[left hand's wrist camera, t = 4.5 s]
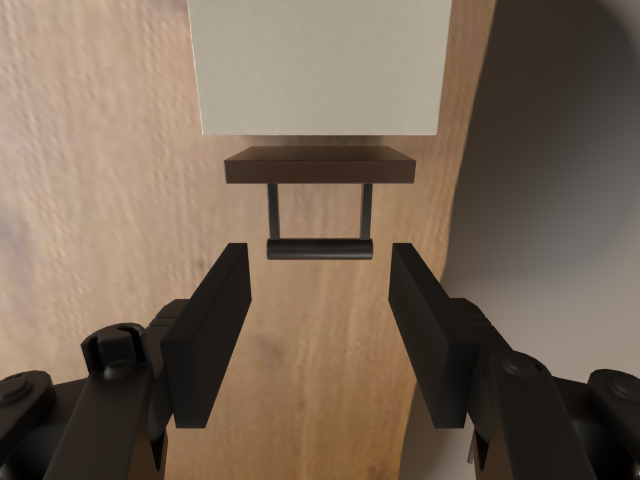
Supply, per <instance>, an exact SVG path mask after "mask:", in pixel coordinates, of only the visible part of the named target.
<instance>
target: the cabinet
mask: <svg viewBox="0 0 640 480" xmlns="http://www.w3.org/2000/svg"><path fill="white" fill-rule="evenodd" d="M187 3H188V12H189V21H190V29H191V38H192V46H193V55H194V64H195V72H196V81H197V89H198V98H199V107H200V115H201V124H202V133H203V135H437V129H438V120H439V111H440V103H441V94H442V85H443V77H444V68H445V59H446V51H447V42H448V33H449V25H450V16H451V7H452V0H187Z"/></svg>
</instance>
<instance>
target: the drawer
mask: <svg viewBox="0 0 640 480" xmlns="http://www.w3.org/2000/svg"><path fill="white" fill-rule="evenodd" d="M415 166H416V160H414V159H412V158H410V157H408V156H406V155H404V154H402V153H400V152H398V151H396V150H394V149H392V148H390V147H388V146H252V147H250V148H248V149H246V150H244V151H242V152H240V153H238V154H236V155H234V156H232V157H230V158H228V159H226V160H224V170H225V180H226V183H227V184H267V193H268V211H269V230H270V238H268V240H267V258H268V260H372V257H373V241H372V239H371V238H370V224H371V205H372V187H373V183H414V177H415ZM278 184H362V192H361V215H360V238H280V222H279V200H278Z"/></svg>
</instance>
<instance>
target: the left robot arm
mask: <svg viewBox="0 0 640 480" xmlns="http://www.w3.org/2000/svg"><path fill="white" fill-rule="evenodd" d="M251 301H252V297H251V285H250V272H249V260H248V248H247V243H229V244H228V245H227V247H226V248H225V249H224V251H223V252H222V254H221V255H220V257H219V258H218V259H217V261H216V262H215V264H214V265H213V267H212V268H211V269H210V271H209V272H208V274H207V275H206V276H205V278H204V279H203V281H202V282H201V284H200V285H199V286H198V288H197V289H196V291H195V292H194V294H193V295H192V296H191V298H190V299H175V300H174V301H172V302H170V303H169V304H167V305H166V306H164V307H163V308H162V309H161V310H160V312H159V313H158V314H157V315H156V316H155V319H153V320H152V321H151V323H150V324H149V327H147V328H146V329H145V328H144V327H142V326H141V325H140V324H135V323H119V324H115V325H111V326H107V327H105V328H103V329H100V330H98V331H96V332H94V333H93V334H91V335H90V336H88V337H87V338H86V339H85V340H84V341H83V342H82V344H81V348H82V352H83V355H84V358H85V362H86V365H87V368H88V372H89V376H88V378H84V379H80V380H76V381H71V382H66V383H62V384H57V385H53V383H52V380H51V377H50V375H49V374H47V373H46V372H45V371H36V370H34V371H27V372H21V373H18V374H15V375H12V376H9V377H6V378H5V379H3V380H1V381H0V480H164V474H165V465H166V456H167V447H168V437H167V432H166V426H167V424H168V422H169V420H170V418H171V416H172V414H174V419H175V424H176V428H205V427H206V424H207V421H208V419H209V416H210V413H211V410H212V408H213V405H214V402H215V399H216V397H217V394H218V391H219V389H220V386H221V383H222V380H223V378H224V375H225V372H226V369H227V367H228V364H229V361H230V358H231V356H232V353H233V350H234V347H235V345H236V342H237V339H238V336H239V334H240V331H241V328H242V326H243V323H244V320H245V317H246V315H247V312H248V309H249V306H250V304H251ZM388 301H389V304H390V306H391V309H392V312H393V315H394V317H395V320H396V323H397V326H398V328H399V331H400V334H401V336H402V339H403V342H404V345H405V347H406V350H407V353H408V356H409V358H410V361H411V364H412V367H413V369H414V372H415V375H416V378H417V380H418V383H419V386H420V388H421V391H422V394H423V397H424V399H425V402H426V405H427V408H428V410H429V413H430V416H431V418H432V421H433V424H434V427H435V428H464V424H465V419H466V414H467V412H468V414H469V416H470V418H471V420H472V422H473V424H474V426H475V427H474V432H473V436H472V441H471V446H470V450H469V455H468V463H471V464H472V462H473V457H474V464H475V473H476V480H640V476H639V471H640V379H639V378H637V377H635V376H633V375H630V374H628V373H625V372H621V371H616V370H610V369H599V370H595V371H594V372H592V373H591V374H590V377H589V380H588V383H587V384H585V383H581V382H576V381H571V380H567V379H562V378H558V377H554V376H552V375H551V373H550V372H549V370H548V369H547V368H546V366H545V365H543V364H542V363H541V362H539V361H538V360H537V359H535V358H533V357H531V356H529V355H527V354H524V353H521V352H517V351H514V350H513V349H512V348H511V347H510V346H509V345H508V343H507V342H506V341H505V340H504V338H503V337H502V336H501V335H500V333H499V332H498V331H497V330H496V329H495V327H494V326H492V325H491V322H490V321H489V320H488V319H487V318H485V315H484V314H483V313H482V311H481V310H480V309H479V308H478V306H476V305H475V304H473V303H471V302H470V301H468V300H467V299H465V298H449V296H448V295H447V294H446V292H445V291H444V289H443V288H442V286H441V285H440V284H439V282H438V281H437V279H436V278H435V276H434V275H433V274H432V272H431V271H430V269H429V268H428V267H427V265H426V264H425V262H424V261H423V259H422V258H421V257H420V255H419V254H418V252H417V251H416V249H415V248H414V247H413V245H412V244H411V243H393V247H392V260H391V272H390V285H389V297H388Z"/></svg>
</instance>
